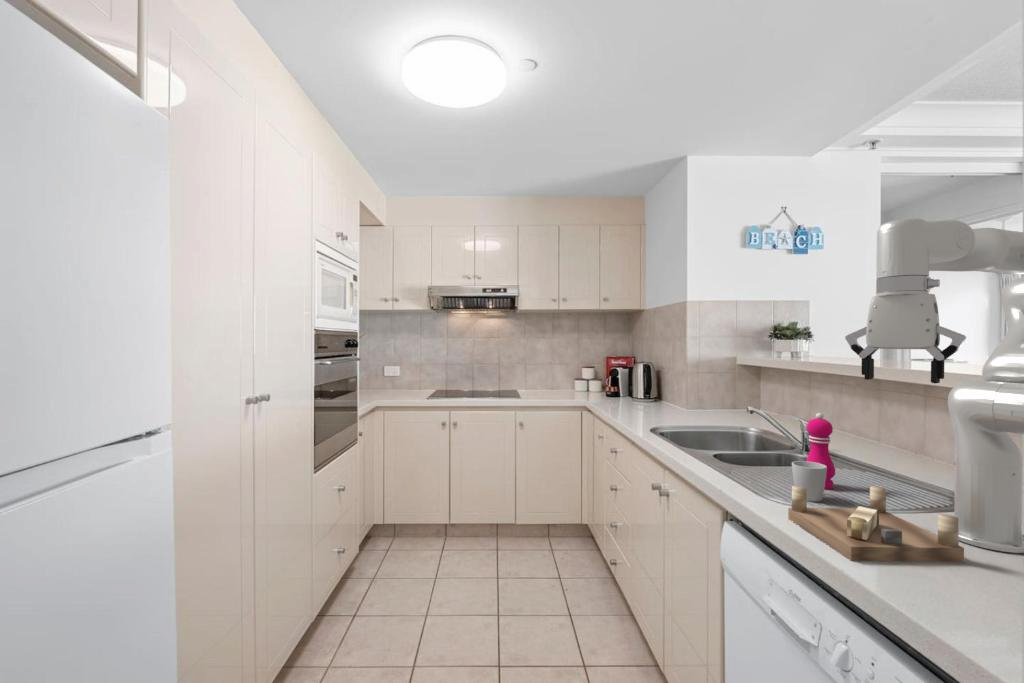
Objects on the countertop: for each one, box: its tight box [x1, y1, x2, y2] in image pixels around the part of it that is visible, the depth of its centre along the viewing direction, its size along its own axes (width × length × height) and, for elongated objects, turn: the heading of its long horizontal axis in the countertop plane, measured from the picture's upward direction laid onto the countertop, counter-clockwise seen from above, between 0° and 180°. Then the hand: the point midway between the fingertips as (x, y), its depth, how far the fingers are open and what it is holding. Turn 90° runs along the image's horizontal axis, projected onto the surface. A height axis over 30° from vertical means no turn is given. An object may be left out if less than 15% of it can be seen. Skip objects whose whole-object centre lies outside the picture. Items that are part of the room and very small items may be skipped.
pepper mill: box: [805, 412, 836, 490], centre depth 130 cm, size 7×7×20 cm
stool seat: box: [787, 485, 965, 563], centre depth 95 cm, size 20×20×8 cm
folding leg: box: [847, 503, 879, 540], centre depth 93 cm, size 12×3×3 cm, turn 134°
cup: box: [791, 460, 827, 503], centre depth 121 cm, size 8×10×8 cm
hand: (900, 381), depth 87 cm, fingers open, 9 cm apart
